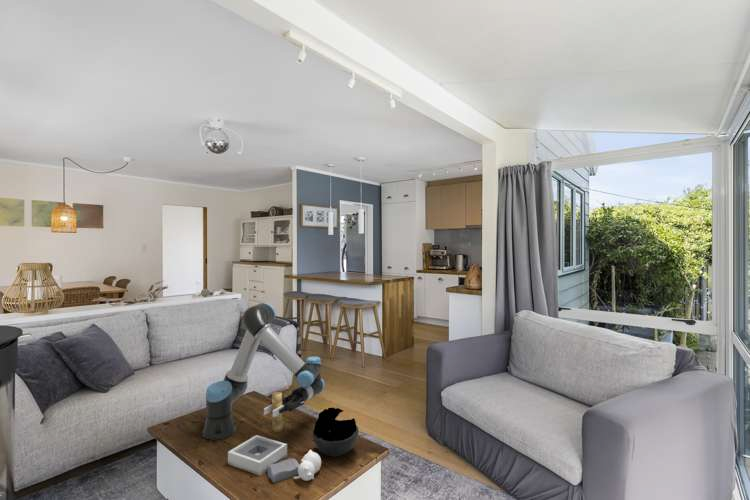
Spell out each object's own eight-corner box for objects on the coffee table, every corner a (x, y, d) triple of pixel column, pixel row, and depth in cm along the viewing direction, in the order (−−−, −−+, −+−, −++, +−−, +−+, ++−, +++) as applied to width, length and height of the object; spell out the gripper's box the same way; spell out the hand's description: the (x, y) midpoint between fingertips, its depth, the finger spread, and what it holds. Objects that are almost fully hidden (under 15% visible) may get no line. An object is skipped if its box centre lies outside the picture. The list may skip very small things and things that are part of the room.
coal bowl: (336, 437, 175) (335, 397, 175) (368, 451, 162) (367, 408, 163) (303, 455, 160) (302, 412, 160) (335, 472, 147) (335, 425, 147)
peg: (270, 430, 165) (269, 394, 166) (276, 426, 169) (276, 391, 169) (277, 432, 163) (277, 396, 164) (284, 428, 167) (284, 393, 167)
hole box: (228, 463, 154) (227, 451, 154) (256, 445, 168) (256, 434, 168) (259, 475, 146) (259, 462, 146) (287, 455, 160) (287, 444, 160)
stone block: (265, 477, 148) (273, 484, 140) (265, 464, 149) (272, 471, 141) (293, 468, 154) (302, 475, 146) (293, 456, 155) (302, 462, 147)
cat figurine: (305, 460, 139) (317, 443, 151) (283, 472, 141) (297, 454, 153) (317, 481, 138) (328, 462, 150) (295, 493, 140) (308, 473, 152)
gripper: (316, 405, 179) (284, 425, 158) (288, 398, 186) (254, 417, 166) (316, 389, 179) (284, 407, 158) (288, 384, 186) (253, 400, 166)
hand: (268, 412), depth 162 cm, fingers closed on peg, 4 cm apart
